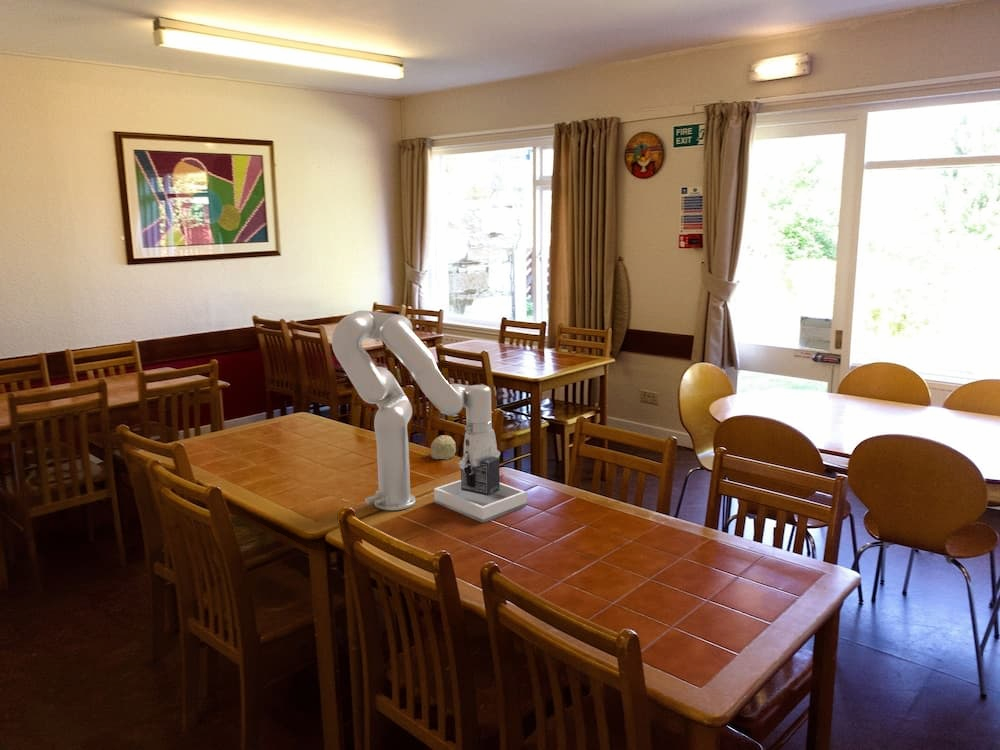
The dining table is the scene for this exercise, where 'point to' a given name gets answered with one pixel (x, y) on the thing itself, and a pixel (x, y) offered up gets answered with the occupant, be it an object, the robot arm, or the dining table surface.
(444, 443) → the decorative object
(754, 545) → the dining table surface
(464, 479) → the small box
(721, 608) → the dining table surface
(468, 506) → the bin
